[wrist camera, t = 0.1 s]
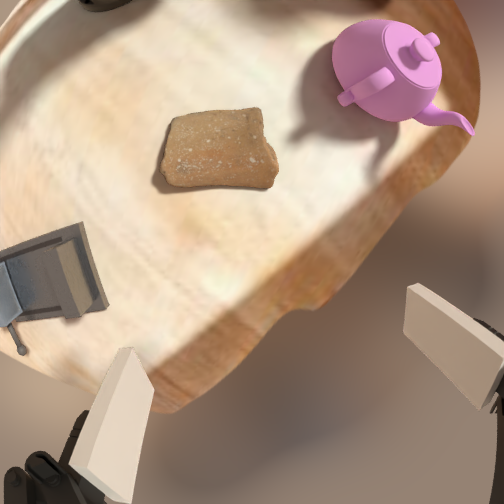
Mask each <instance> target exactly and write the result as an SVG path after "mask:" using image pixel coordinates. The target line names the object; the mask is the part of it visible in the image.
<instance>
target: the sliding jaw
mask: <svg viewBox="0 0 504 504" xmlns="http://www.w3.org/2000/svg"><path fill="white" fill-rule="evenodd" d="M22 312H23V311H22V309H21V307H20V304H19V302H18V299H17V297H16V294H15V292H14V289H13V286H12V283H11V281H10V278H9V275H8V272H7V269H6V266H5V262H2V263H0V327H6V326H7V327H8V329H9V332H10V334H11V336H12V338H13V340H14V342H15V344H16V345H17V352H18V353H19V354H20V355H22V356H24V355H25V354H26V352H27V350H26V347H25V346H24V345H22V344H21V342H20V340H19V338H18V336H17V334H16V332H15V330H14V328H13V326H12V324H11V322H12V321H13V320H14V319H15V318H16V317H17V316H18V315H19V314H21V313H22Z"/></svg>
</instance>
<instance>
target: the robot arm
mask: <svg viewBox="0 0 504 504" xmlns="http://www.w3.org/2000/svg"><path fill="white" fill-rule="evenodd" d="M78 1H79V3H80V4H81V5H82V6H83V7H84V8H85V9H86V10H88V11H93V12H100V11H107V10H111V9H114V8H117V7H119V6H122V5H124V4H126V3H128V2H130V1H132V0H78ZM403 333H404V334H405V335H406V336H407V337H408V338H409V339H410V340H411V341H412V342H413V343H414V344H415V345H416V346H417V347H418V348H419V349H420V350H421V351H422V352H423V353H424V354H425V355H426V356H427V357H428V358H429V359H430V360H431V361H432V362H433V363H434V364H435V365H436V366H437V367H438V368H439V369H440V370H441V371H442V372H443V373H444V374H445V375H446V376H447V377H448V378H449V379H450V380H451V382H452V383H453V384H454V385H455V386H456V387H457V388H458V389H459V390H460V391H461V392H462V393H463V394H464V395H465V396H466V397H467V398H468V400H470V402H471V403H472V404H473V405H474V406H475V407H476V408H477V409H478V410H481V409H482V408H483V407H484V406H486V405H487V404H488V403H489V402H490V401H491V399H492V397H493V396H494V394H495V392H497V393H498V394H499V396H498V397H497V400H496V401H495V403H494V405H493V407H492V409H491V411H490V413H493V411H494V409H495V407H496V406H497V410H496V412H495V413H497V451H496V464H495V473H494V480H493V486H492V493H491V498H490V503H489V504H504V336H503V335H502V334H501V333H498V332H497V331H496V330H495V329H494V328H491V326H489V325H488V324H486V323H485V322H484V321H481V320H478V319H475V318H473V319H472V318H470V317H469V316H468V315H466V314H465V313H463V312H462V311H460V310H459V309H457V308H456V307H455V306H453V305H451V304H450V303H449V302H447V301H446V300H444V299H443V298H441V297H440V296H438V295H437V294H435V293H433V292H432V291H430V290H429V289H427V288H426V287H424V286H423V285H421V284H419V283H417V284H414V285H411V286H408V287H407V297H406V309H405V319H404V328H403ZM153 394H154V388H153V386H152V384H151V382H150V381H149V379H148V377H147V375H146V373H145V371H144V369H143V367H142V365H141V363H140V361H139V358H138V356H137V354H136V352H135V350H134V348H133V347H130V348H120V349H119V350H118V352H117V354H116V356H115V358H114V360H113V362H112V364H111V366H110V368H109V370H108V372H107V374H106V376H105V378H104V381H103V383H102V385H101V387H100V389H99V391H98V394H97V396H96V398H95V400H94V402H93V405H92V407H91V409H90V411H88V410H85V411H83V413H82V414H81V415H80V416H79V417H78V418H77V419H76V422H75V424H74V426H73V430H72V431H71V433H70V437H69V438H68V440H67V442H66V445H65V447H64V450H63V452H62V455H61V457H60V460H59V462H56V461H55V460H54V459H53V458H52V457H51V456H50V455H49V454H48V453H46V452H45V451H37V452H34V453H32V454H31V455H30V456H29V457H28V458H27V460H26V463H25V471H26V472H27V473H28V474H29V475H28V474H27V473H26V472H25V471H24V470H23V469H21V468H20V467H12V468H10V469H9V470H8V471H7V473H6V474H5V477H4V504H107V503H106V502H105V501H104V497H105V495H107V496H108V497H109V498H110V499H112V500H113V501H117V502H123V503H130V504H131V502H132V496H133V490H134V484H135V478H136V472H137V467H138V462H139V457H140V452H141V447H142V442H143V437H144V433H145V428H146V424H147V419H148V415H149V411H150V406H151V402H152V398H153Z"/></svg>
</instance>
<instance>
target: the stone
mask: <svg viewBox="0 0 504 504" xmlns="http://www.w3.org/2000/svg"><path fill="white" fill-rule="evenodd" d="M263 128H264V125H263V117H262V113H261V110H260V109H259V108H255V107H253V108H247V109H242V110H212V111H205V112H198V113H191V114H187V115H184V116H179V117H176V118H173V119H172V122H171V124H170V133H169V135H168V139H167V144H166V145H165V152H164V154H163V159H162V161H161V164H160V169H159V171H160V172H161V173H162V174H163V175H164V176H165V178H166V182H167V183H168V184H170V185H172V186H177V187H182V188H185V187H194V186H207V185H210V186H213V185H228V186H248V187H255V188H271V187H272V186H273V184H274V179H275V177H276V175H277V174H278V172H279V165H278V162H277V157H276V154H275V151H274V150H273V148H272V147H271V146H270V145H269V144H268V143H266V138H265V137H264V135H263Z"/></svg>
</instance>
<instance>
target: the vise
mask: <svg viewBox="0 0 504 504" xmlns="http://www.w3.org/2000/svg"><path fill="white" fill-rule="evenodd" d="M2 262H5V266H6V269H7V272H8V275H9V278H10V281H11V283H12V286H13V289H14V292H15V294H16V297H17V299H18V302H19V304H20V307H21V309H22V311H23V312H22V313H21V314H19V315H18V316H17V317H16V318H15V320H16V322H19V321H27V320H35V319H43V318H50V317H57V316H64V315H65V318H66V319H68V318H75V317H81V316H82V315H83V314H84V313H85V312H92V311H98V310H104V309H107V307H108V306H109V303H108V301H107V298H106V295H105V292H104V290H103V287H102V284H101V281H100V278H99V275H98V272H97V269H96V266H95V263H94V260H93V257H92V253H91V250H90V247H89V243H88V239H87V236H86V232H85V228H84V224H83V222H79V223H76V224H73V225H70V226H67V227H64V228H61V229H58V230H55V231H52V232H49V233H47V234H44V235H41V236H38V237H35V238H33V239H30V240H27V241H25V242H22V243H20V244H17V245H14V246H12V247H9V248H7V249H4V250H2V251H0V263H2Z"/></svg>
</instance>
